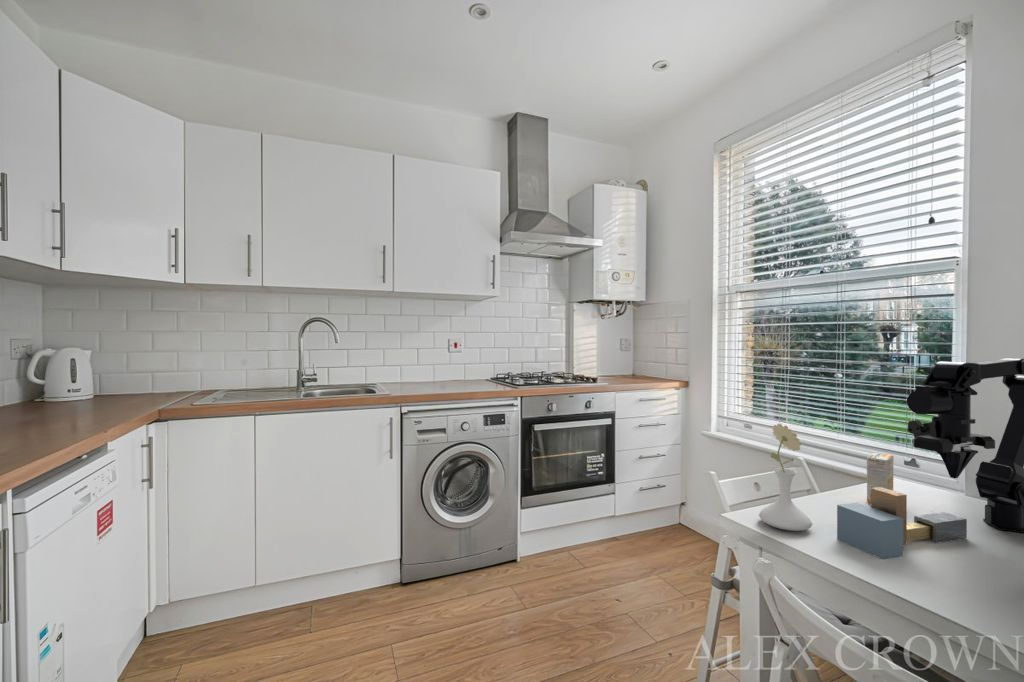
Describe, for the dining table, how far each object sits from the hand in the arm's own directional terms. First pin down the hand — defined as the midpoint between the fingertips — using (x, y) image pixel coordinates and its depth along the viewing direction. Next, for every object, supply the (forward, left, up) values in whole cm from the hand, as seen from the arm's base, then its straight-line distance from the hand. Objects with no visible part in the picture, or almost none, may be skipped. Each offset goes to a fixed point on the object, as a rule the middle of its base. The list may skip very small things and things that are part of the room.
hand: (953, 477), depth 111 cm
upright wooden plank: (+15, +13, -12) cm, 23 cm away
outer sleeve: (+5, +5, -13) cm, 15 cm away
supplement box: (+8, -20, -13) cm, 25 cm away
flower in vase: (+38, +10, -13) cm, 41 cm away
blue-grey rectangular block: (+23, +18, -13) cm, 32 cm away
